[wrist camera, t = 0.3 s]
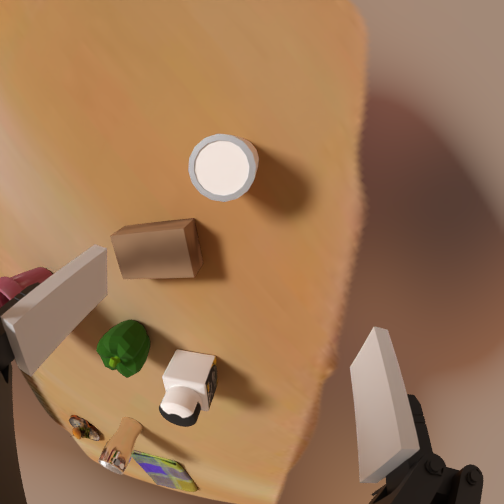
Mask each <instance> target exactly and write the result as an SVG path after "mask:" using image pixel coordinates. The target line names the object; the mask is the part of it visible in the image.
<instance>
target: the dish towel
mask: <svg viewBox="0 0 504 504" xmlns="http://www.w3.org/2000/svg"><path fill="white" fill-rule="evenodd" d="M133 452H134V453H133V454H132V457H133V459H135V461H136V462H137V463H138V464H139V465H140V466H141V467H142V468H143V469H144V470H145V471H146V473H148V475H149V476H150V477H151V478H152V479H153V481H154V482H155V483H156V484H157V485H162V486H166V487H170V488H176V489H181V490H185V491H189V492H195V491H197V490H198V488H197V486H196V484H195V483H194V481H193V480H192V479H191V477H190V476H189V475H188V473H187V472H186V471H185V470H184V468H183V467H182V466H181V465H179V464H178V463H177V462H175V461H173V460H169V459H165V458H161V457H158V456H154V455H150V454H146V453H142V452H139V451H136V450H133Z"/></svg>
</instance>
